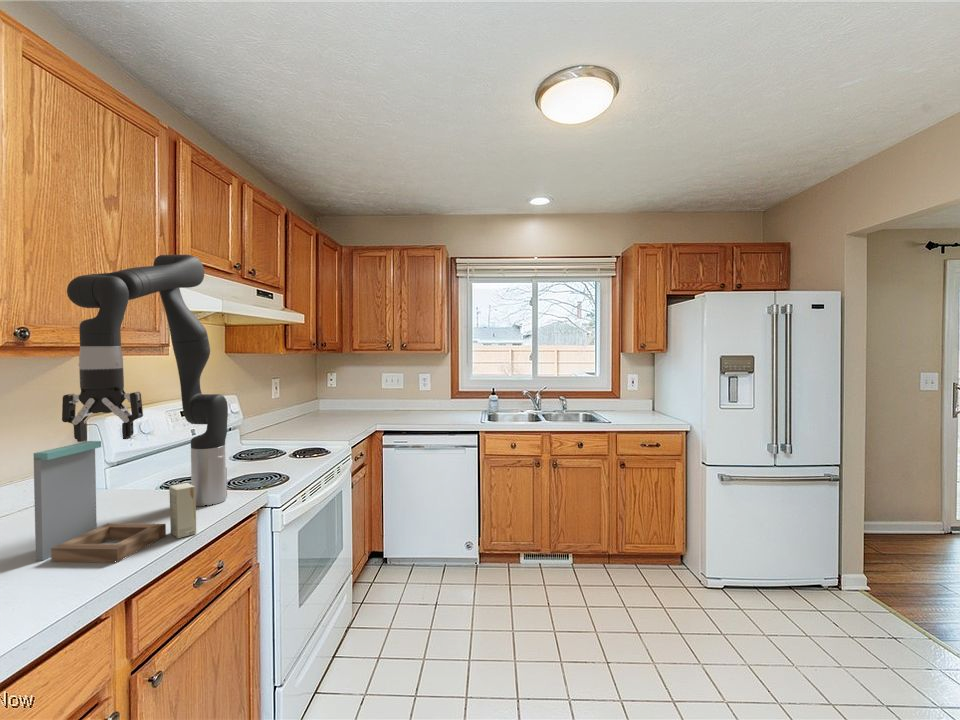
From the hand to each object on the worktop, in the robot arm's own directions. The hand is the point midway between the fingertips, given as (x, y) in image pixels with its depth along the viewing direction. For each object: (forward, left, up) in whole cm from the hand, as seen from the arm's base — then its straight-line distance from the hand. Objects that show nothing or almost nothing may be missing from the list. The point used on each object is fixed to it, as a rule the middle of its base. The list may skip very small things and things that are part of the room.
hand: (104, 439), depth 103 cm
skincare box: (-15, +7, -27) cm, 32 cm away
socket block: (-6, -4, -27) cm, 28 cm away
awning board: (-6, -15, -27) cm, 31 cm away
